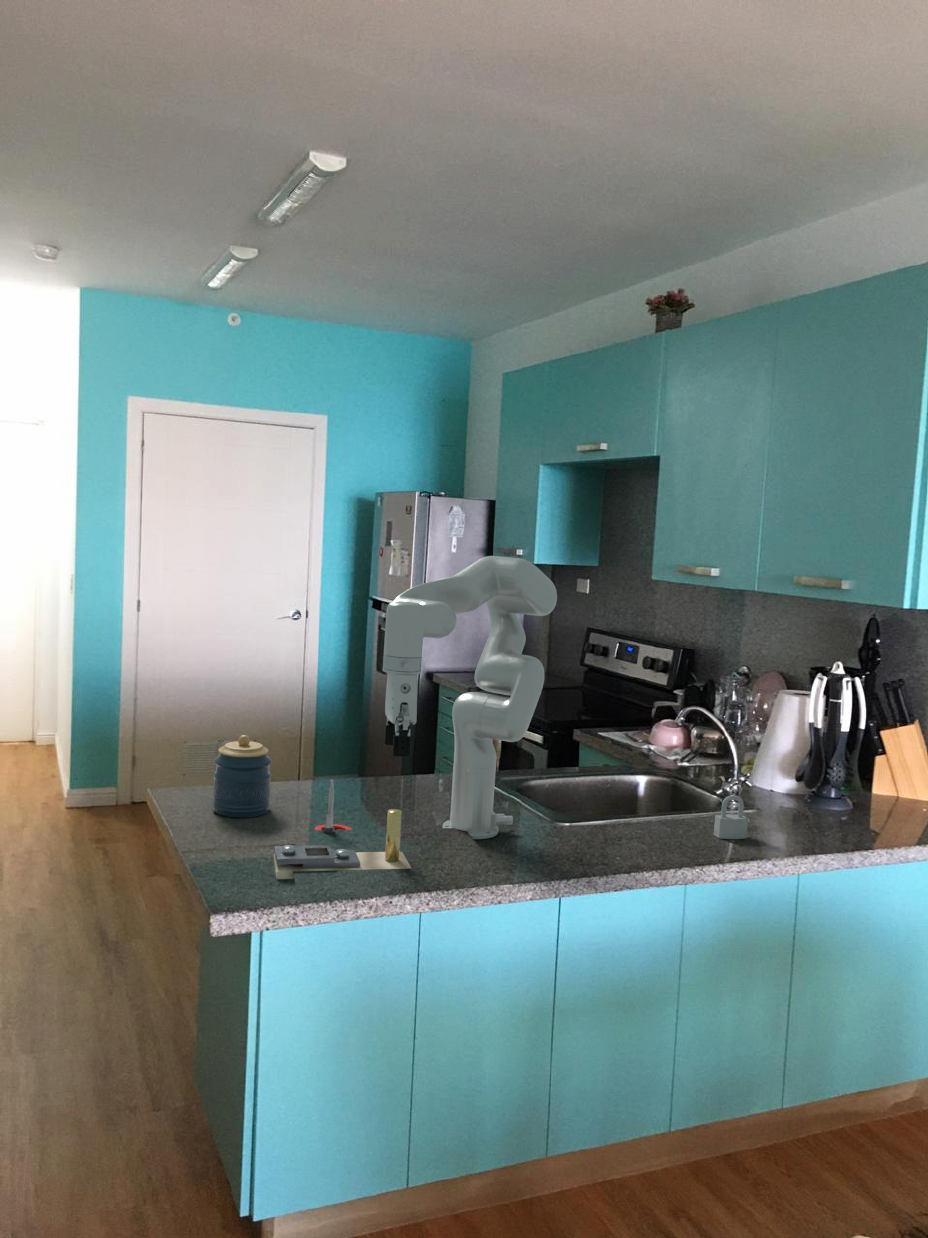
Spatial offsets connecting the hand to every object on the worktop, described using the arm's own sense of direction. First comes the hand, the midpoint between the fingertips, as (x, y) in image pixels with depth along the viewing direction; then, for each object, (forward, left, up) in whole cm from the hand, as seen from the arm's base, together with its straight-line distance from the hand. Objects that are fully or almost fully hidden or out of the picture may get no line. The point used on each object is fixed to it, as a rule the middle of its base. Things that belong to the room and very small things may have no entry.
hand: (396, 750), depth 205 cm
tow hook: (+9, -22, -24) cm, 34 cm away
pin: (0, 0, -22) cm, 22 cm away
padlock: (-83, -15, -24) cm, 88 cm away
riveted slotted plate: (+15, 0, -22) cm, 27 cm away
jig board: (+10, 0, -24) cm, 26 cm away
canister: (+28, -40, -24) cm, 54 cm away
